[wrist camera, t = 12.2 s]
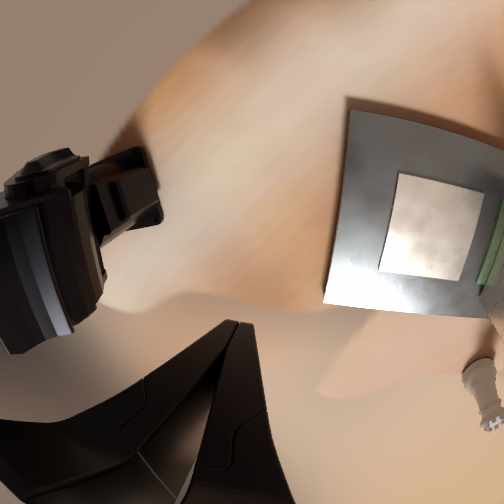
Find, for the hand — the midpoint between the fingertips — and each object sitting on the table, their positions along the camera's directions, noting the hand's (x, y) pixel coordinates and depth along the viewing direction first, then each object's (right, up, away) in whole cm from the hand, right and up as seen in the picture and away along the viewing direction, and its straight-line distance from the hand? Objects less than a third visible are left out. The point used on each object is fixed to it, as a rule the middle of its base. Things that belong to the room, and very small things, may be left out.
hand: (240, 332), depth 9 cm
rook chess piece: (+25, -11, +14) cm, 31 cm away
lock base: (+16, +4, +9) cm, 19 cm away
